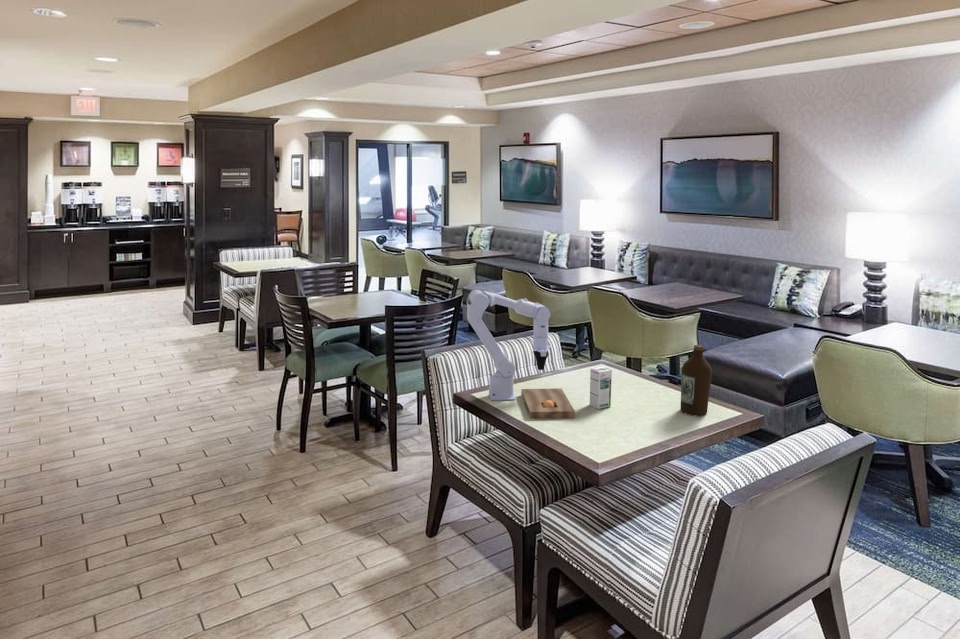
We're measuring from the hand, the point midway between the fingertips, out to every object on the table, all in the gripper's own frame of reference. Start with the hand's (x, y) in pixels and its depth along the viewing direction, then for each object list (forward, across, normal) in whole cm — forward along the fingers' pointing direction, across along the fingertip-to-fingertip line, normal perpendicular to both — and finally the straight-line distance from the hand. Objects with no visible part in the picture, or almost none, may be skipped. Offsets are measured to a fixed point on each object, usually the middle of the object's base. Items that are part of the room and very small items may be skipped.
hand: (540, 369), depth 264 cm
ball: (+8, -18, 0) cm, 20 cm away
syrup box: (+11, -14, -20) cm, 27 cm away
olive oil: (+12, -22, -53) cm, 59 cm away
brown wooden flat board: (+10, -13, 0) cm, 17 cm away
